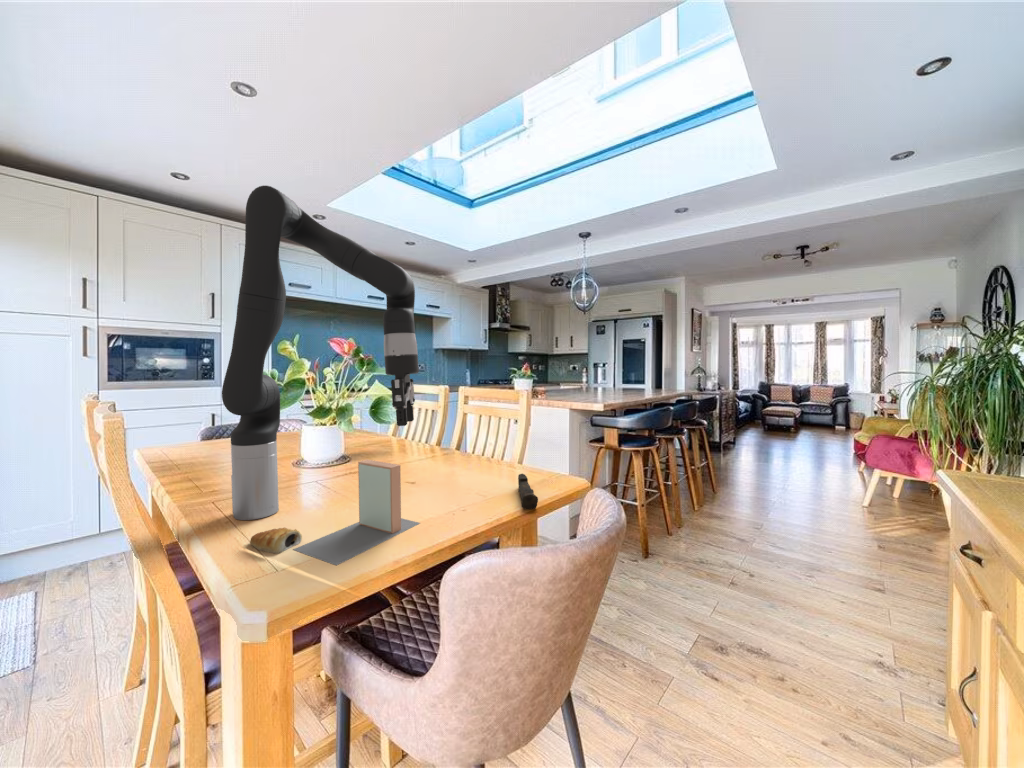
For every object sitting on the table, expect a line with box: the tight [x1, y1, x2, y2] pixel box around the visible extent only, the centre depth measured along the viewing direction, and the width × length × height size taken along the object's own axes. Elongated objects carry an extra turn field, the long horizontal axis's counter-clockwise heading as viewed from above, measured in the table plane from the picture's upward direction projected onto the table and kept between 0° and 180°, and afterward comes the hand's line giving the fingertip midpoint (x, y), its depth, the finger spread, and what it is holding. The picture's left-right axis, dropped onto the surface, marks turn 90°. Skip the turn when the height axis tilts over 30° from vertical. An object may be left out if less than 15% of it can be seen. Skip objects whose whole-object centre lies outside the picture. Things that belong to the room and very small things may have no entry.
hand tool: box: [517, 473, 539, 510], centre depth 112 cm, size 19×4×5 cm, turn 3°
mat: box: [292, 517, 421, 566], centre depth 86 cm, size 12×22×1 cm, turn 151°
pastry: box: [249, 527, 303, 555], centre depth 82 cm, size 9×7×4 cm
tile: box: [357, 459, 402, 534], centre depth 90 cm, size 10×3×14 cm, turn 61°
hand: (405, 423), depth 97 cm, fingers open, 8 cm apart
